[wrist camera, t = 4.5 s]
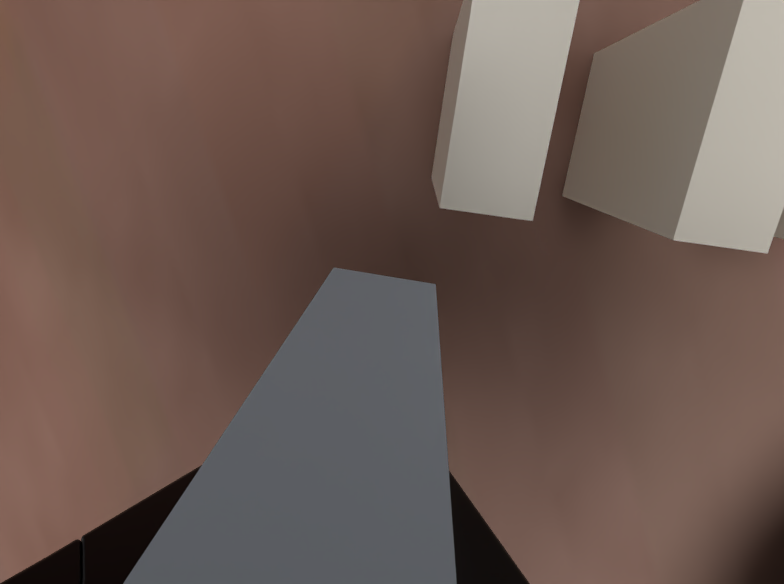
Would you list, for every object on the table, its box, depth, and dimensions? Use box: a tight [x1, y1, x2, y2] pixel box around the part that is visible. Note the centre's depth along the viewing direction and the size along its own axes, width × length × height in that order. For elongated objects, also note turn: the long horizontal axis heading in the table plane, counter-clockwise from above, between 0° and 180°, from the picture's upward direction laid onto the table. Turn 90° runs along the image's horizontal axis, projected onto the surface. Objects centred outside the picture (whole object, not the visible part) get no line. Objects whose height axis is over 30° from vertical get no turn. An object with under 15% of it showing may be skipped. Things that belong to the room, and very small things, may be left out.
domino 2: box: [431, 0, 579, 221], centre depth 15 cm, size 5×2×9 cm, turn 172°
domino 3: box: [562, 0, 784, 253], centre depth 15 cm, size 5×2×9 cm, turn 172°
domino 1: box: [123, 268, 457, 584], centre depth 6 cm, size 5×2×9 cm, turn 171°
